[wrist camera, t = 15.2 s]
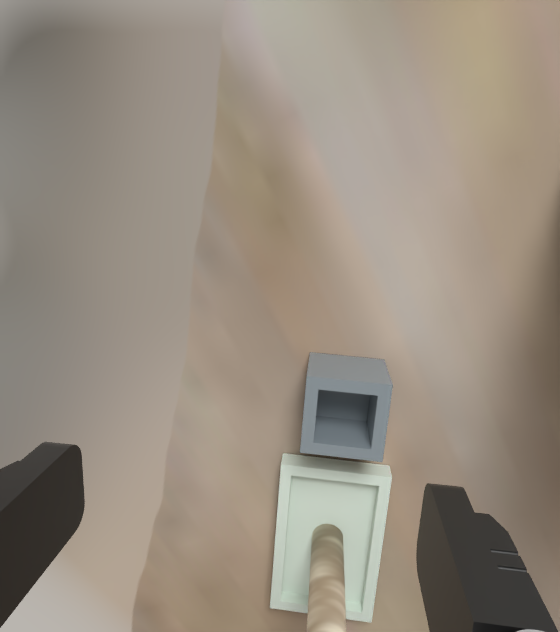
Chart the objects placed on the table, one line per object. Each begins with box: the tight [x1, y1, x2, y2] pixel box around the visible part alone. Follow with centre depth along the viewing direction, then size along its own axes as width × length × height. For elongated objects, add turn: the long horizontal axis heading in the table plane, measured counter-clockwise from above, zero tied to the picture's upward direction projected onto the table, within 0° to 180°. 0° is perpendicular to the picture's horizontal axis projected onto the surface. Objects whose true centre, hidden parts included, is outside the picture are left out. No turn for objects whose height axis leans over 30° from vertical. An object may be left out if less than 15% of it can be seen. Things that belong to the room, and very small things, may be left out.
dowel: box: [307, 524, 346, 632], centre depth 40 cm, size 3×3×13 cm
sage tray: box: [270, 453, 392, 623], centre depth 46 cm, size 10×16×2 cm, turn 176°
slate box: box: [300, 352, 393, 462], centre depth 41 cm, size 7×7×6 cm
